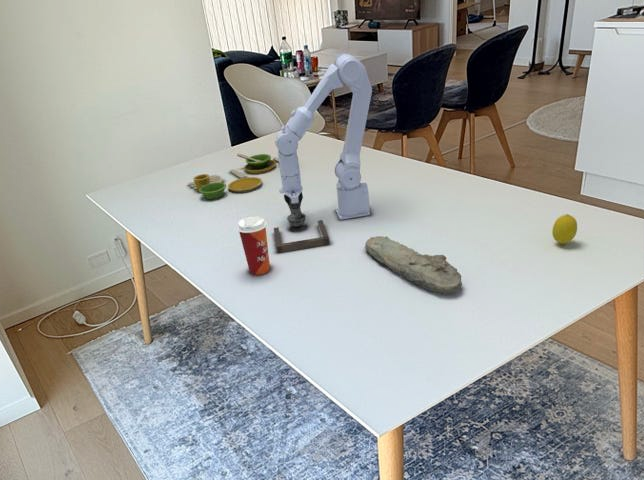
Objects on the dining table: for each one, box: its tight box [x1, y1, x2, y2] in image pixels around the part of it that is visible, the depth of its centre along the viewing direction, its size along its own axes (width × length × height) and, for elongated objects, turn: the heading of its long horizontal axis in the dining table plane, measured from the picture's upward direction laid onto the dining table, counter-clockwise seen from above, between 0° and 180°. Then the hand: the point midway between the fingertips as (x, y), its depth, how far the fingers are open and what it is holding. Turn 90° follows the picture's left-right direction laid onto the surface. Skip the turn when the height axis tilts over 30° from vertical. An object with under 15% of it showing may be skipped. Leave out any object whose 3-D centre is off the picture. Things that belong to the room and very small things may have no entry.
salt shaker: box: [286, 190, 307, 233], centre depth 170 cm, size 6×6×12 cm
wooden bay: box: [273, 219, 330, 254], centre depth 166 cm, size 15×14×2 cm
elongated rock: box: [364, 235, 463, 295], centre depth 142 cm, size 35×5×10 cm
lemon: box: [551, 213, 578, 246], centre depth 141 cm, size 6×6×8 cm
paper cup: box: [236, 216, 271, 276], centre depth 150 cm, size 8×8×14 cm
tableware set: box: [188, 152, 279, 200], centre depth 214 cm, size 41×28×6 cm
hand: (296, 217), depth 175 cm, fingers closed
